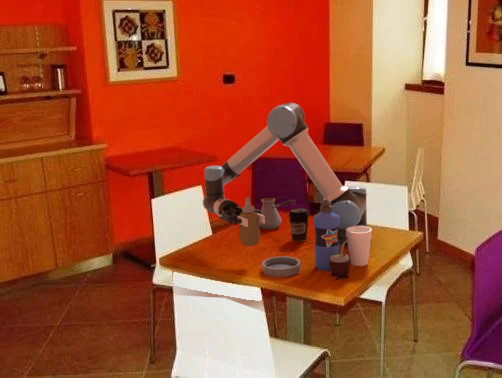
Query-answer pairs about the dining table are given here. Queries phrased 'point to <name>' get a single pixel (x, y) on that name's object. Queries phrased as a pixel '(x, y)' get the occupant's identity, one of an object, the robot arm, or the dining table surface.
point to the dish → (281, 266)
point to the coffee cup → (299, 224)
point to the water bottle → (326, 236)
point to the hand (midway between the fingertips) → (255, 221)
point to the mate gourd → (339, 264)
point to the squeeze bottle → (249, 225)
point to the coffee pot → (271, 213)
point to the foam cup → (359, 244)
